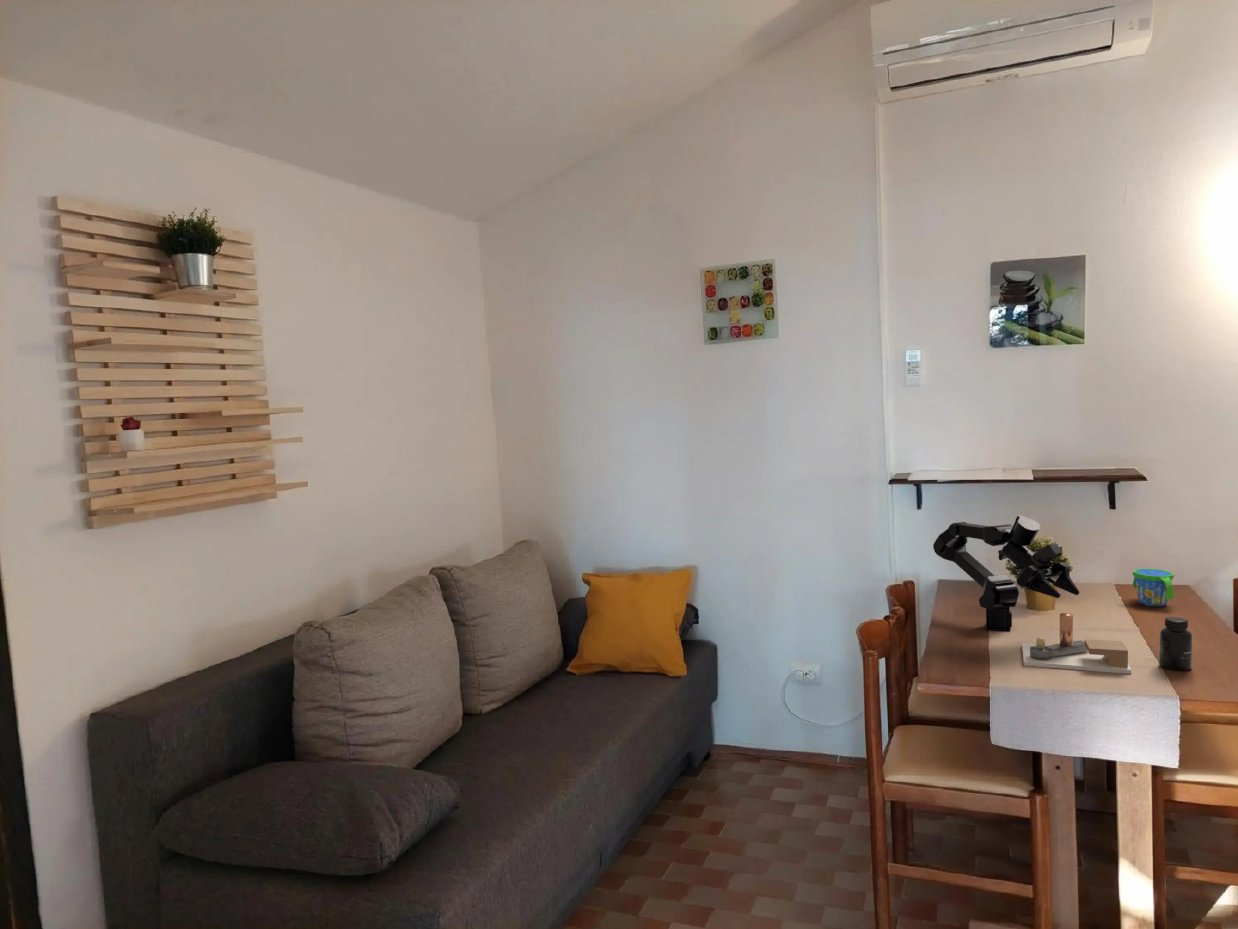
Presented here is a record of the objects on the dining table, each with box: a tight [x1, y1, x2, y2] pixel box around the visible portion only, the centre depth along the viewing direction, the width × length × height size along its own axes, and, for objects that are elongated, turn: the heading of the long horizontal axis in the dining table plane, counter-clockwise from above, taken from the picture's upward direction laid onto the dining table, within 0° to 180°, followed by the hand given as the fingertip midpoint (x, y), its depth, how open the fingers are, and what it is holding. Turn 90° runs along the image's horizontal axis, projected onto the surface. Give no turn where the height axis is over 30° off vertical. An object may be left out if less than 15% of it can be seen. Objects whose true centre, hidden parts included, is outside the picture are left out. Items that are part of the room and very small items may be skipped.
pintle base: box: [1021, 636, 1132, 675], centre depth 223 cm, size 24×16×6 cm
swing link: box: [1030, 612, 1088, 660], centre depth 224 cm, size 16×5×10 cm, turn 107°
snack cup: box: [1132, 568, 1175, 608], centre depth 270 cm, size 16×11×10 cm
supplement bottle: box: [1158, 616, 1194, 672], centre depth 214 cm, size 7×7×12 cm
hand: (1069, 595), depth 231 cm, fingers open, 9 cm apart
